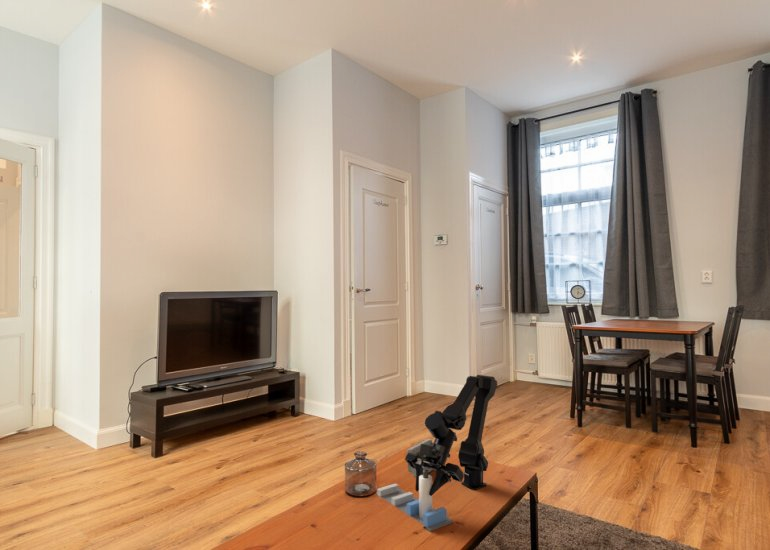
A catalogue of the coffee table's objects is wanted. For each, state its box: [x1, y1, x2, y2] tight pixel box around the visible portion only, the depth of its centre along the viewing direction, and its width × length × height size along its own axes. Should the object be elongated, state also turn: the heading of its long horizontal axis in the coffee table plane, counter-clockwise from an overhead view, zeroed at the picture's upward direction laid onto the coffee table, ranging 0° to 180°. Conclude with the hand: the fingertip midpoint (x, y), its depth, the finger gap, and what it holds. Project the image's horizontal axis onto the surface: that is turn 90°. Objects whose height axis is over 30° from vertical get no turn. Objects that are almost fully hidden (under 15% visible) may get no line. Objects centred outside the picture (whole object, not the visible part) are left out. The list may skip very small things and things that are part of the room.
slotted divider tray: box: [375, 483, 454, 533], centre depth 150 cm, size 9×28×4 cm, turn 35°
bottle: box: [418, 470, 433, 520], centre depth 143 cm, size 4×4×14 cm
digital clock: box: [406, 438, 434, 479], centre depth 180 cm, size 16×9×11 cm, turn 132°
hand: (423, 492), depth 142 cm, fingers open, 5 cm apart
